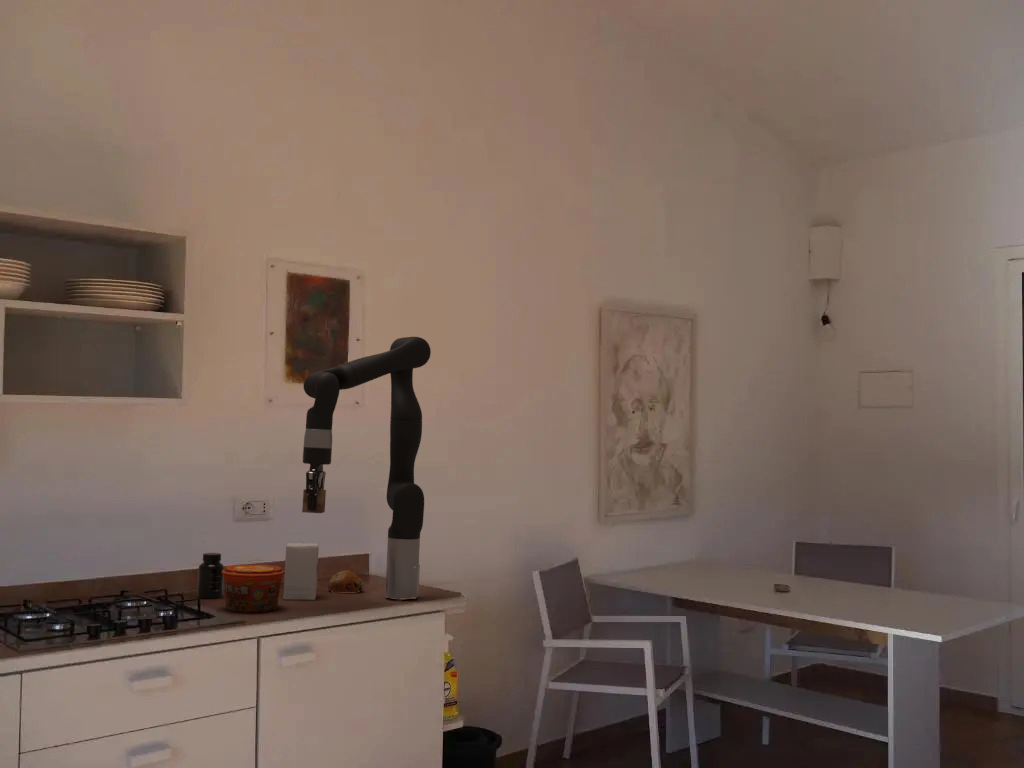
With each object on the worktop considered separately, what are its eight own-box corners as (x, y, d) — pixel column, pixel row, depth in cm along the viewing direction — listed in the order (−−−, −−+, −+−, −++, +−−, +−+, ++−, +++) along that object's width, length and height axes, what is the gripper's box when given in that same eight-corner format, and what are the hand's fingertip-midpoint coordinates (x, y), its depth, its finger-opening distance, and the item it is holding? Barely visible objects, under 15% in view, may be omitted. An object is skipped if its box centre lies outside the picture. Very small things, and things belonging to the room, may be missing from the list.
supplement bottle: (192, 596, 274) (194, 553, 275) (214, 594, 279) (216, 551, 280) (205, 600, 270) (207, 555, 270) (227, 597, 275) (229, 554, 275)
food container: (241, 616, 247) (243, 573, 248) (207, 607, 258) (209, 566, 259) (295, 610, 259) (297, 568, 260) (260, 602, 270) (262, 562, 270)
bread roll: (349, 600, 300) (342, 575, 302) (372, 589, 294) (365, 564, 297) (325, 604, 292) (318, 578, 294) (348, 592, 286) (341, 566, 289)
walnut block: (324, 512, 268) (326, 489, 268) (320, 513, 263) (322, 490, 263) (306, 511, 268) (307, 488, 268) (302, 512, 263) (303, 489, 263)
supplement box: (315, 600, 275) (318, 546, 276) (282, 600, 274) (285, 545, 275) (316, 595, 284) (319, 542, 285) (285, 595, 283) (287, 542, 284)
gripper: (326, 446, 259) (322, 512, 258) (336, 447, 274) (332, 509, 273) (297, 445, 260) (293, 510, 258) (309, 445, 274) (305, 507, 273)
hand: (313, 509), depth 265 cm, fingers closed on walnut block, 5 cm apart
